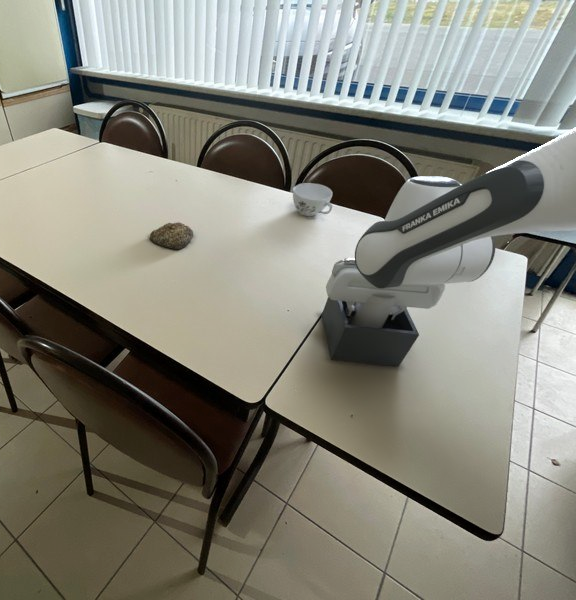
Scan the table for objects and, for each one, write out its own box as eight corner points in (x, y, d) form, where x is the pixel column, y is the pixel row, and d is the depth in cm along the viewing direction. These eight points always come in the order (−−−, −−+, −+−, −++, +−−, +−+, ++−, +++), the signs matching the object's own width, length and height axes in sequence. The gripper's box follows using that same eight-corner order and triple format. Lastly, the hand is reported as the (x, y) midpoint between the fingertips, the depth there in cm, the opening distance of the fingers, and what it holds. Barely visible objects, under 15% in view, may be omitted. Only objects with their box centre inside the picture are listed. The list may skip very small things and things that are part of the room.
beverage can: (345, 337, 78) (363, 295, 70) (346, 318, 83) (364, 276, 75) (377, 345, 77) (400, 303, 69) (376, 325, 81) (398, 283, 73)
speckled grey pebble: (176, 254, 107) (176, 239, 103) (144, 240, 112) (143, 226, 109) (201, 235, 114) (202, 221, 111) (170, 223, 120) (169, 209, 117)
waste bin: (398, 367, 76) (419, 334, 69) (331, 359, 77) (345, 327, 71) (380, 321, 86) (397, 289, 79) (321, 315, 87) (332, 283, 81)
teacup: (280, 209, 127) (285, 187, 122) (306, 200, 132) (312, 179, 127) (313, 228, 118) (319, 205, 112) (339, 218, 122) (347, 196, 117)
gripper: (340, 267, 66) (320, 321, 75) (460, 277, 64) (425, 331, 73) (333, 248, 71) (315, 301, 80) (446, 256, 69) (414, 310, 78)
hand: (368, 316), depth 77 cm, fingers closed on beverage can, 6 cm apart
